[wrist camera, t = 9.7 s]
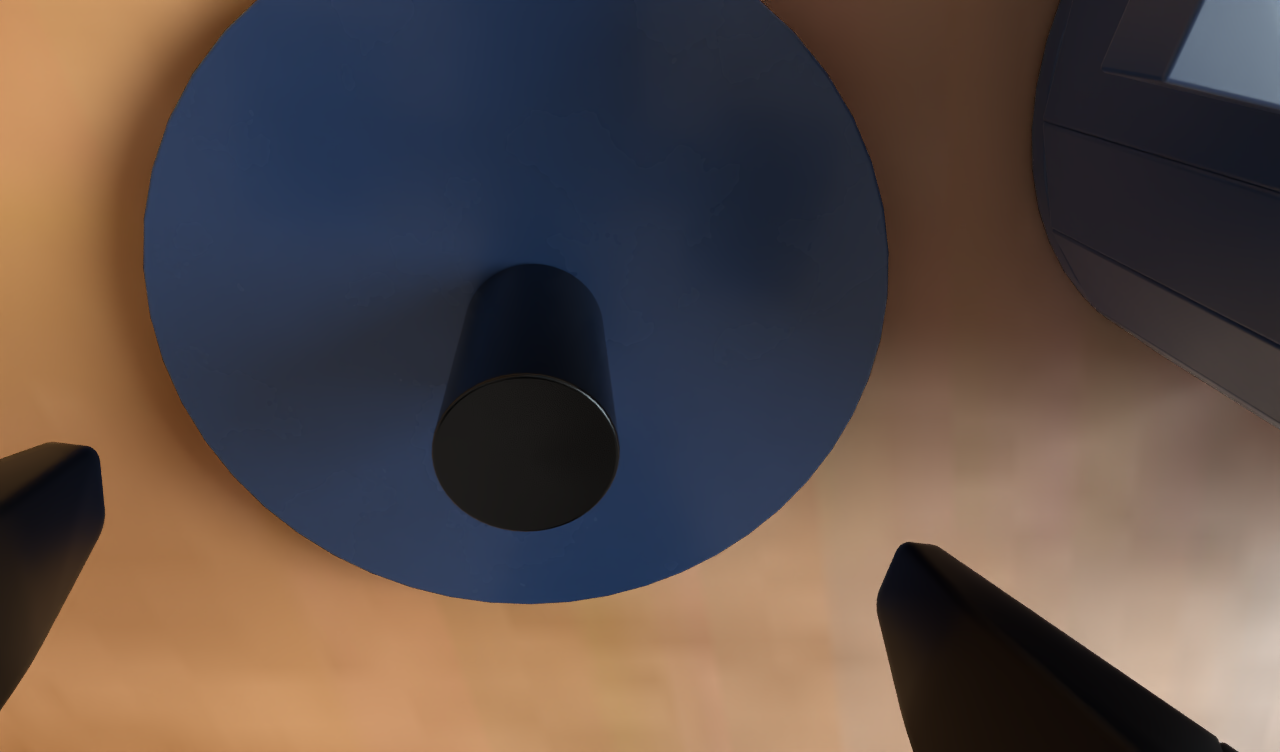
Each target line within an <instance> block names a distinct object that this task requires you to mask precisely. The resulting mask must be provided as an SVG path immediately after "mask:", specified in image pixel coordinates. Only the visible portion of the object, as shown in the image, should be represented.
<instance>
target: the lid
mask: <svg viewBox="0 0 1280 752" xmlns="http://www.w3.org/2000/svg"><path fill="white" fill-rule="evenodd" d="M888 256H889V251H888V242H887V234H886V225H885V216H884V207H883V203H882V199H881V195H880V192H879V188H878V184H877V180H876V176H875V172H874V168H873V164H872V161H871V159H870V156H869V154H868V151H867V149H866V146H865V144H864V142H863V139H862V137H861V134H860V132H859V130H858V127H857V125H856V122H855V120H854V118H853V116H852V114H851V112H850V111H849V109H848V107H847V105H846V104H845V102H844V100H843V99H842V97H841V95H840V94H839V92H838V90H837V89H836V87H835V85H834V84H833V82H832V80H831V79H830V77H829V75H828V73H827V72H826V71H825V70H824V68H823V67H822V66H821V65H820V64H819V62H818V61H817V60H816V59H815V57H814V56H813V55H812V54H811V52H810V51H809V50H808V49H807V47H806V46H805V45H804V44H803V42H802V41H801V40H800V39H799V37H798V36H797V35H796V34H795V33H794V32H793V31H792V30H791V29H790V28H789V27H788V26H787V25H786V24H785V23H784V22H783V21H782V20H780V19H779V18H778V17H777V16H776V15H775V14H774V13H773V12H772V11H771V10H770V9H769V8H768V7H766V6H765V5H764V4H763V3H762V2H761V1H760V0H256V1H255V2H254V3H253V4H252V5H251V6H250V7H249V8H248V9H247V10H246V11H245V12H244V13H243V14H241V15H240V16H239V17H238V18H237V19H236V20H235V21H234V22H233V23H232V24H231V25H230V26H229V27H228V28H227V29H226V30H225V31H224V32H223V34H222V35H221V36H220V38H219V39H218V40H217V42H216V43H215V44H214V46H213V47H212V48H211V50H210V51H209V52H208V54H207V55H206V56H205V58H204V59H203V60H202V62H201V63H200V64H199V66H198V67H197V68H196V70H195V71H194V72H193V74H192V76H191V78H190V80H189V81H188V83H187V85H186V87H185V89H184V91H183V93H182V95H181V97H180V99H179V101H178V102H177V104H176V106H175V108H174V110H173V112H172V114H171V116H170V118H169V120H168V122H167V125H166V128H165V131H164V134H163V137H162V140H161V143H160V146H159V149H158V152H157V155H156V158H155V161H154V164H153V167H152V172H151V178H150V184H149V190H148V196H147V202H146V208H145V214H144V255H143V269H144V276H145V283H146V290H147V298H148V305H149V312H150V317H151V321H152V324H153V328H154V331H155V334H156V338H157V341H158V345H159V348H160V352H161V355H162V359H163V362H164V364H165V366H166V368H167V371H168V373H169V375H170V377H171V379H172V382H173V384H174V386H175V388H176V391H177V393H178V395H179V397H180V400H181V402H182V404H183V405H184V407H185V409H186V410H187V412H188V414H189V415H190V417H191V418H192V420H193V422H194V423H195V425H196V427H197V428H198V430H199V432H200V433H201V435H202V436H203V438H204V440H205V441H206V443H207V444H208V445H209V446H210V448H211V449H212V450H213V451H214V453H215V454H216V455H217V456H218V458H219V459H220V460H221V461H222V463H223V464H224V465H225V466H226V468H227V469H228V470H229V471H230V473H231V474H232V475H233V476H234V477H235V478H236V479H237V480H238V481H239V482H240V483H241V484H242V485H243V486H244V487H245V488H246V489H247V490H248V491H249V492H250V493H251V494H252V495H253V496H254V497H255V498H256V499H257V500H258V501H259V502H260V503H261V504H262V505H263V506H264V507H266V508H267V509H268V510H269V511H271V512H272V513H273V514H274V515H276V516H277V517H278V518H280V519H281V520H282V521H283V522H285V523H286V524H287V525H289V526H290V527H291V528H292V529H294V530H295V531H296V532H298V533H299V534H301V535H302V536H304V537H305V538H307V539H309V540H310V541H312V542H314V543H315V544H317V545H318V546H320V547H322V548H323V549H325V550H326V551H328V552H330V553H331V554H333V555H335V556H337V557H339V558H341V559H343V560H345V561H347V562H349V563H351V564H354V565H356V566H358V567H360V568H362V569H364V570H366V571H368V572H370V573H372V574H375V575H378V576H381V577H384V578H386V579H389V580H392V581H395V582H398V583H400V584H403V585H406V586H409V587H412V588H416V589H420V590H424V591H428V592H432V593H436V594H441V595H445V596H449V597H455V598H462V599H469V600H476V601H483V602H490V603H513V604H542V603H559V602H572V601H578V600H584V599H591V598H597V597H603V596H609V595H613V594H617V593H620V592H624V591H628V590H632V589H636V588H639V587H643V586H647V585H649V584H652V583H655V582H657V581H660V580H663V579H665V578H668V577H670V576H673V575H676V574H678V573H681V572H683V571H685V570H687V569H689V568H691V567H693V566H695V565H697V564H699V563H701V562H703V561H705V560H707V559H709V558H711V557H713V556H715V555H717V554H719V553H720V552H722V551H723V550H725V549H727V548H728V547H730V546H731V545H733V544H734V543H736V542H737V541H739V540H741V539H742V538H744V537H745V536H747V535H748V534H750V533H751V532H752V531H754V530H755V529H756V528H757V527H759V526H760V525H761V524H762V523H763V522H765V521H766V520H767V519H768V518H770V517H771V516H772V515H773V514H775V513H776V512H777V511H778V510H780V509H781V508H782V507H783V506H784V505H785V503H786V502H787V501H788V500H789V499H790V498H791V497H792V496H793V495H794V494H795V493H796V492H797V491H798V490H799V489H800V488H801V487H802V486H803V485H804V484H805V483H806V482H807V481H808V480H809V479H810V477H811V476H812V475H813V473H814V472H815V471H816V470H817V468H818V467H819V466H820V464H821V463H822V462H823V461H824V459H825V458H826V457H827V455H828V454H829V453H830V452H831V450H832V449H833V447H834V445H835V444H836V442H837V440H838V439H839V437H840V435H841V434H842V432H843V430H844V429H845V427H846V425H847V424H848V422H849V420H850V419H851V417H852V415H853V413H854V411H855V409H856V406H857V404H858V402H859V400H860V397H861V395H862V393H863V391H864V388H865V386H866V384H867V382H868V379H869V376H870V373H871V370H872V366H873V363H874V360H875V356H876V353H877V350H878V346H879V343H880V339H881V334H882V328H883V321H884V315H885V309H886V303H887V296H888Z"/></svg>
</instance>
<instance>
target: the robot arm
mask: <svg viewBox="0 0 1280 752" xmlns="http://www.w3.org/2000/svg"><path fill="white" fill-rule="evenodd" d="M104 519H105V506H104V496H103V486H102V476H101V466H100V459H99V456H98V454H97V452H96V451H95V450H94V449H93V448H91V447H89V446H82V445H74V444H65V443H57V442H49V443H45V444H42V445H39V446H36V447H33V448H30V449H27V450H25V451H22V452H19V453H16V454H13V455H11V456H8V457H5V458H2V459H0V710H1V709H2V707H3V706H4V704H5V703H6V701H7V700H8V699H9V697H10V696H11V694H12V693H13V691H14V690H15V688H16V687H17V685H18V684H19V682H20V681H21V679H22V677H23V676H24V674H25V673H26V671H27V670H28V668H29V667H30V665H31V663H32V662H33V660H34V658H35V656H36V655H37V653H38V651H39V649H40V648H41V646H42V644H43V642H44V640H45V638H46V637H47V635H48V633H49V631H50V629H51V627H52V625H53V623H54V621H55V619H56V618H57V616H58V614H59V612H60V610H61V608H62V606H63V604H64V602H65V601H66V599H67V597H68V595H69V593H70V591H71V589H72V587H73V585H74V583H75V582H76V580H77V578H78V576H79V574H80V572H81V570H82V568H83V566H84V565H85V563H86V561H87V559H88V557H89V555H90V553H91V551H92V549H93V547H94V546H95V544H96V542H97V540H98V538H99V536H100V534H101V531H102V528H103V524H104ZM877 614H878V619H879V623H880V627H881V631H882V635H883V639H884V644H885V648H886V652H887V656H888V660H889V664H890V668H891V673H892V677H893V681H894V685H895V689H896V693H897V697H898V702H899V706H900V710H901V713H902V717H903V721H904V724H905V728H906V731H907V734H908V737H909V740H910V743H911V746H912V749H913V752H1238V751H1236V750H1235V749H1234V748H1232V747H1231V746H1229V745H1228V744H1226V743H1219V741H1218V739H1217V737H1216V736H1214V735H1213V734H1211V733H1210V732H1208V731H1207V730H1206V729H1204V728H1203V727H1201V726H1200V725H1198V724H1197V723H1195V722H1194V721H1192V720H1191V719H1189V718H1188V717H1187V716H1185V715H1184V714H1182V713H1181V712H1179V711H1178V710H1176V709H1175V708H1173V707H1172V706H1170V705H1169V704H1168V703H1166V702H1165V701H1163V700H1162V699H1160V698H1159V697H1157V696H1156V695H1154V694H1153V693H1151V692H1150V691H1149V690H1147V689H1146V688H1144V687H1143V686H1141V685H1140V684H1138V683H1137V682H1135V681H1134V680H1132V679H1131V678H1130V677H1128V676H1127V675H1125V674H1124V673H1122V672H1121V671H1119V670H1118V669H1116V668H1115V667H1113V666H1112V665H1111V664H1109V663H1108V662H1106V661H1105V660H1103V659H1102V658H1100V657H1099V656H1097V655H1096V654H1094V653H1093V652H1092V651H1090V650H1089V649H1087V648H1086V647H1084V646H1083V645H1081V644H1080V643H1078V642H1077V641H1076V640H1074V639H1073V638H1071V637H1070V636H1068V635H1067V634H1065V633H1064V632H1062V631H1061V630H1059V629H1058V628H1057V627H1055V626H1054V625H1052V624H1051V623H1049V622H1048V621H1046V620H1045V619H1043V618H1042V617H1040V616H1039V615H1038V614H1036V613H1035V612H1033V611H1032V610H1030V609H1029V608H1027V607H1026V606H1024V605H1023V604H1021V603H1020V602H1019V601H1017V600H1016V599H1014V598H1013V597H1011V596H1010V595H1008V594H1007V593H1005V592H1004V591H1002V590H1001V589H1000V588H998V587H997V586H995V585H994V584H992V583H991V582H989V581H988V580H986V579H985V578H983V577H982V576H981V575H979V574H978V573H976V572H975V571H973V570H972V569H970V568H969V567H967V566H966V565H964V564H963V563H962V562H960V561H959V560H957V559H956V558H954V557H953V556H951V555H950V554H948V553H947V552H946V551H944V550H943V549H941V548H940V547H938V546H935V545H931V544H922V543H913V542H906V543H903V544H902V545H900V547H899V548H898V549H897V551H896V553H895V555H894V557H893V559H892V562H891V564H890V566H889V569H888V571H887V573H886V576H885V578H884V580H883V583H882V585H881V587H880V590H879V592H878V596H877Z"/></svg>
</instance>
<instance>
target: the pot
mask: <svg viewBox="0 0 1280 752" xmlns="http://www.w3.org/2000/svg"><path fill="white" fill-rule="evenodd" d="M1032 162H1033V176H1034V183H1035V189H1036V195H1037V201H1038V208H1039V211H1040V214H1041V217H1042V221H1043V224H1044V227H1045V230H1046V233H1047V236H1048V239H1049V242H1050V244H1051V246H1052V248H1053V250H1054V252H1055V254H1056V256H1057V258H1058V260H1059V262H1060V264H1061V266H1062V268H1063V270H1064V272H1065V273H1066V275H1067V276H1068V277H1069V279H1070V280H1071V281H1072V283H1073V284H1074V285H1075V287H1076V288H1077V289H1078V291H1079V292H1080V293H1081V295H1082V296H1083V297H1084V298H1085V299H1086V300H1087V301H1088V302H1089V303H1090V304H1091V305H1092V306H1093V307H1095V308H1096V310H1097V311H1098V312H1099V313H1101V314H1102V315H1103V316H1104V317H1106V318H1107V319H1109V320H1110V321H1112V322H1113V323H1115V324H1117V325H1118V326H1120V327H1121V328H1122V329H1124V330H1125V331H1127V332H1128V333H1130V334H1131V335H1133V336H1134V337H1136V338H1137V339H1138V340H1140V341H1141V342H1143V343H1144V344H1146V345H1147V346H1149V347H1150V348H1152V349H1153V350H1154V351H1156V352H1157V353H1159V354H1160V355H1162V356H1164V357H1165V358H1167V359H1168V360H1170V361H1172V362H1173V363H1175V364H1176V365H1178V366H1179V367H1181V368H1183V369H1184V370H1186V371H1187V372H1189V373H1191V374H1192V375H1194V376H1195V377H1197V378H1199V379H1200V380H1202V381H1203V382H1205V383H1206V384H1208V385H1210V386H1211V387H1213V388H1214V389H1216V390H1218V391H1219V392H1221V393H1222V394H1224V395H1226V396H1227V397H1229V398H1230V399H1232V400H1233V401H1235V402H1237V403H1238V404H1240V405H1241V406H1243V407H1245V408H1246V409H1248V410H1249V411H1251V412H1253V413H1254V414H1256V415H1257V416H1259V417H1260V418H1262V419H1264V420H1265V421H1267V422H1268V423H1270V424H1272V425H1273V426H1275V427H1276V428H1278V429H1280V0H1060V3H1059V6H1058V9H1057V12H1056V15H1055V18H1054V21H1053V24H1052V27H1051V29H1050V32H1049V35H1048V38H1047V42H1046V46H1045V51H1044V55H1043V60H1042V64H1041V69H1040V73H1039V78H1038V82H1037V87H1036V96H1035V105H1034V115H1033V124H1032Z"/></svg>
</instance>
